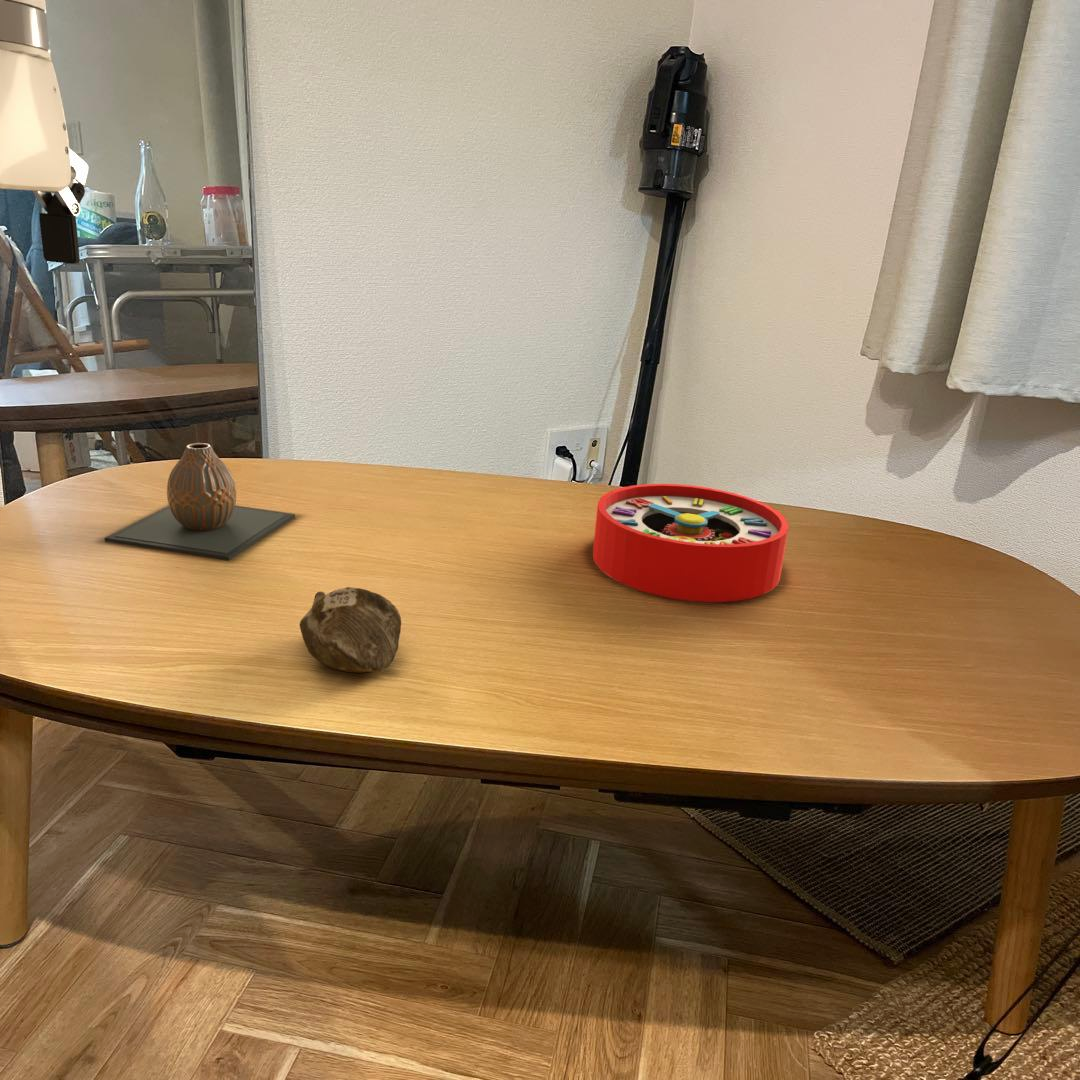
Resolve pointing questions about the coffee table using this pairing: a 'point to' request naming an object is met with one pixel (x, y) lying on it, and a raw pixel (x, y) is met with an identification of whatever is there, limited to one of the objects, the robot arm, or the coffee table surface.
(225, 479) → the vase
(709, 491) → the toy clock
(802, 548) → the coffee table surface
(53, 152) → the robot arm
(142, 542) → the mat
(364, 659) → the fossilized seashell
